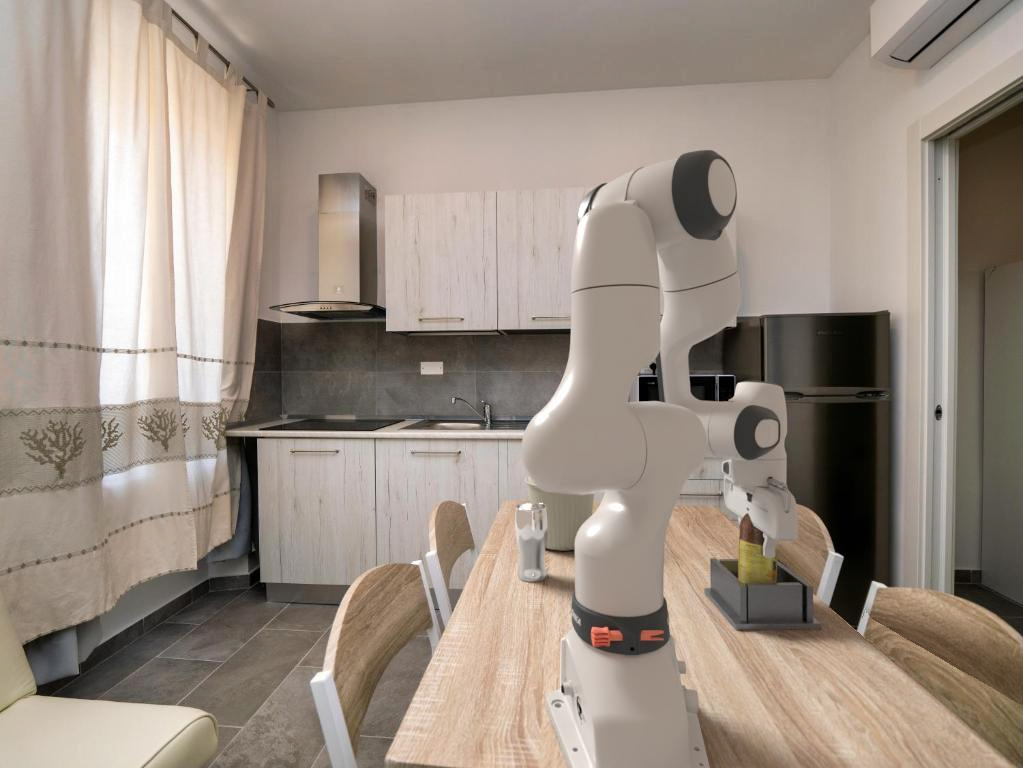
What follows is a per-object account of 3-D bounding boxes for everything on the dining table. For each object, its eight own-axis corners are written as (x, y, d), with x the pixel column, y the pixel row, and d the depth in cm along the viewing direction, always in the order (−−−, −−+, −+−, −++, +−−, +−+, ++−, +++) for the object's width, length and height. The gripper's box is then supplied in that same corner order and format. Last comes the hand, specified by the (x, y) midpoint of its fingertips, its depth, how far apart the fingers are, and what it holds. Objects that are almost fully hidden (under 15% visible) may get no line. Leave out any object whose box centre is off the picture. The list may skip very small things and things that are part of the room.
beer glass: (555, 575, 107) (554, 505, 106) (534, 586, 102) (533, 512, 101) (530, 567, 111) (529, 500, 111) (509, 577, 106) (508, 506, 106)
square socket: (821, 629, 83) (820, 587, 83) (735, 630, 83) (735, 588, 83) (777, 592, 97) (777, 556, 97) (704, 593, 97) (704, 557, 97)
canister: (603, 557, 117) (602, 467, 117) (526, 557, 118) (524, 467, 117) (592, 532, 135) (591, 454, 135) (525, 533, 136) (524, 455, 135)
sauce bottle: (781, 607, 86) (785, 494, 85) (742, 603, 88) (745, 491, 86) (769, 589, 93) (773, 484, 92) (733, 586, 94) (736, 482, 93)
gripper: (810, 485, 79) (808, 572, 79) (750, 461, 99) (749, 530, 100) (769, 485, 79) (768, 572, 80) (717, 461, 100) (717, 530, 100)
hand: (757, 548), depth 90 cm, fingers closed on sauce bottle, 6 cm apart
